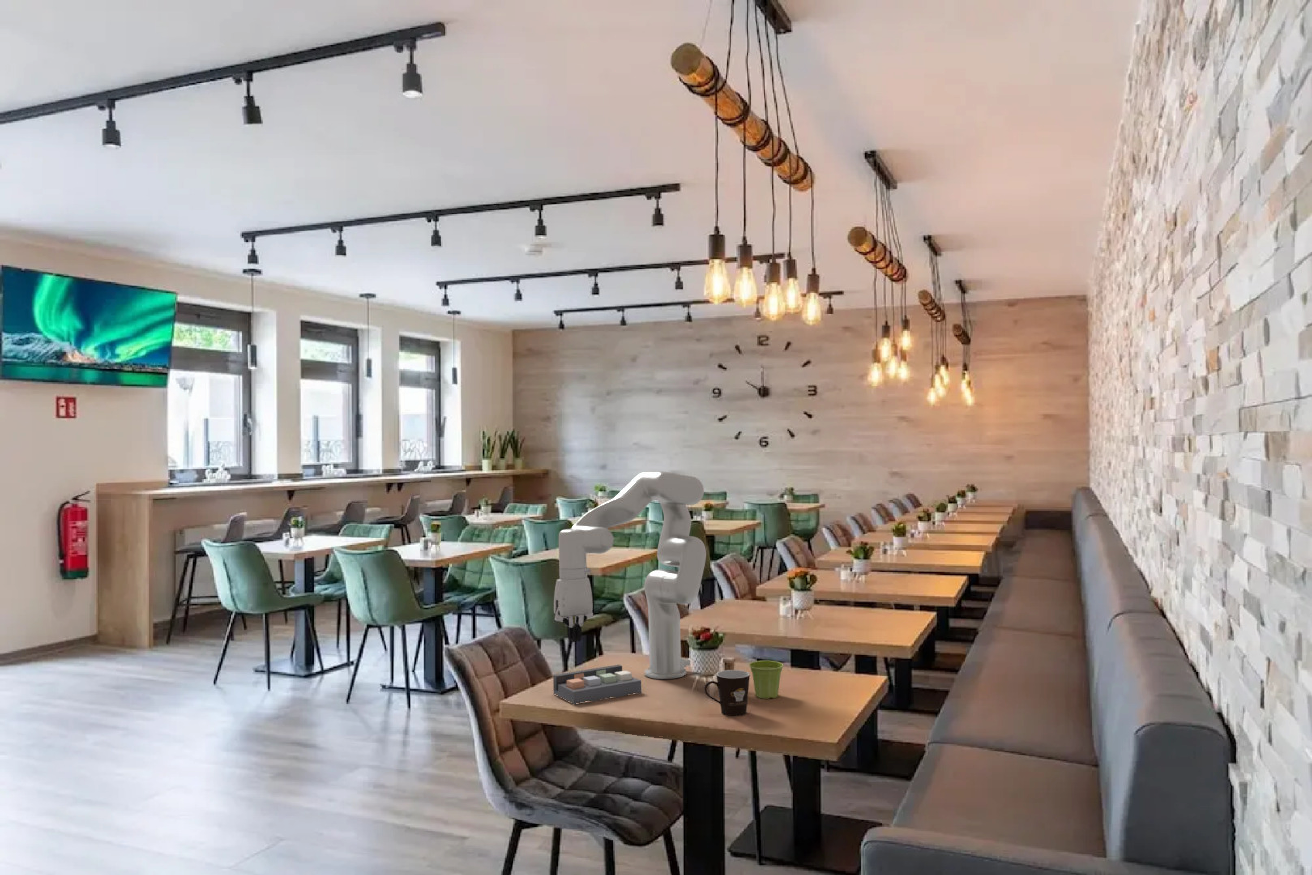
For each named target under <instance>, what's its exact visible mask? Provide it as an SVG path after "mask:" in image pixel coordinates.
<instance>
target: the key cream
mask: <svg viewBox="0 0 1312 875" xmlns="http://www.w3.org/2000/svg"><path fill="white" fill-rule="evenodd" d="M614 673H615V675H616V680H619V681H624V680H630V679H632V677H633V675H632V674H633V673H632V672H630V671H628V670H622V671H620V672H614Z"/></svg>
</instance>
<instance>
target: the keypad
mask: <svg viewBox="0 0 1312 875" xmlns="http://www.w3.org/2000/svg"><path fill="white" fill-rule="evenodd" d="M620 671H623V665H621V664H614V665H607V666H602V667H595V668H588V669H582V670H576V671H570V672H563V673H558V674H552V675H553V676H552V677H553V678H552V679H553V681H552V682H553V686H552V688H553V695H554V694H556V695H558V696H559V697H562V698H564V699H566V700H567V701H570V702H572V703H573V704H576V703H580V702H585V701H593V702H596V701H595V700H599V701H601V700H600V699H604V700H606V699H605V698H610V697H616V698H621V697H626V696H625V695H627V696H629V695H628V694H633V693H638V694H642V680H641V679H638V678H636V677H634V676H632V679H630V680H624V681H619V680H616V682H612V683H606V684H604V683H601V682H600V685H594V686H586V685H584V687H582V688H576V689H570V688H568V687H567V680H571V679H577V678H579V679H581V680H583V677H589V676H596V677H599V675H602V674H608V673H611V674H613V675H615V673H614V672H620ZM556 695H555V696H556ZM633 695H634V694H633ZM558 696H557V697H558ZM620 696H621V697H620ZM559 697H558V698H559ZM610 699H611V698H610ZM567 701H566V702H567ZM573 704H572V705H573ZM576 705H577V704H576Z"/></svg>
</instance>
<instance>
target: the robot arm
mask: <svg viewBox="0 0 1312 875" xmlns="http://www.w3.org/2000/svg"><path fill="white" fill-rule="evenodd" d="M704 493H705V487H704V484H703V482H702V481H701V480H700V479H699V478H697V477H695V476H691V475H685V474H680V473H674V472H670V471H651V470H650V471H642V472H640V473H638V474H637V475H636V476H634V477H633V479H632V480H631V481H629V482H628V484H626V486H624V488H622V490H621V491H619V493H618V494H616V495H615V496H614V497H613V498H612V499H610V500H608V501H606V502H604V503H602V504H600V505H598V506H596V507H594V508H593V509H591V510H589V511H587V512H586V513H585V514H584V515H582V516H581V517H580V518H579V519H578V520H577V521H576V522H575V523H574V524H573V525H572V527H571V528H566V529H562V530H560V531H559V533H558V560H559V562H558V564H559V565H558V566H559V569H558V570H559V574H558V575H559V579H558V578H557V579H556V582H555V586H554V587H555V588H554V596H553V613H554V621H556V622H560V623H563V624H564V625H565V627H566V631H567V632H566V634H567V636H566V637H567V639H568V641H569V642H572V643H575V642H581V641H582V639H581V638H582V636H583V634H582V627H583V626H584V624H585V622H586V621H587V620H588V619H591V618H592V617H593V616H594V613H593V609H594V608H593V606H594V605H593V593H592V587H591V586H592V585H591V581H590V578H589V577H588V574H591V572H592V570H591V568H588V565H587V564H588V562H587V555H588V554H595V555H597V554H598V555H601V554H605V553H606V552H609V550H611V549H612V547H613V545H614V536H613V533H612V532H611V531H610V530H609V528H613V527H616V526H621V525H625V524H627V523H630V522H632V521H633V520H634V519H635V520H636V518H637V516H639V514H641V513H642V511H643V510H644V509H645V508H647V506H649V505H650V503H651V502H652V501H658V503H659V505H660V507H661V509H662V512H663V523H662V528H661V532H660V537H659V541H658V546H657V550H656V551H657V552H656V557H657V560H658V561H659V563H661V565H664V566H668V567H676V568H678V570H673V569H655V570H652V571H651V572H649V573H648V574H647V576H645V580H644V593H645V597H646V601H647V611H648V612H647V613H648V644H649V645H648V647H649V648H648V650H649V656H648V657H649V668H646V669H645V670H644V675H645V677H647V678H650V679H657V680H669V679H671V680H672V679H679V678H682V677H684V675H685V676H686V674H687V669H686V667H687V666H691V665H690V659H691V658H683V657H682V654H681V653H682V652H681V651H682V647H681V615H680V609H679V608H678V605H677V604H679V605H689V604H692V603H693V602H694V601H695V600H696V599H697V597H698V596H699V595H698V594H699V591H700V589H701V588H700V587H701V582H702V578H703V575H704V569H705V566H706V565H705V564H706V559H707V551H706V545H705V544H704V542H703V541H702V539H700V538H699V537H696V536H690V533H691V528H692V526H691V525H692V519H691V518H692V516H691V513H690V511H689V508H688V507H687V506H693V505H696V504H698V503H700V502H701V500H702V499H703V497H704ZM573 617H574V619H573Z"/></svg>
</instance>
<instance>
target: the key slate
mask: <svg viewBox="0 0 1312 875" xmlns="http://www.w3.org/2000/svg"><path fill="white" fill-rule="evenodd" d="M583 681H584V685H586V686H594V685H600V678H599V677H596V676H589V677H583Z"/></svg>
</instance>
